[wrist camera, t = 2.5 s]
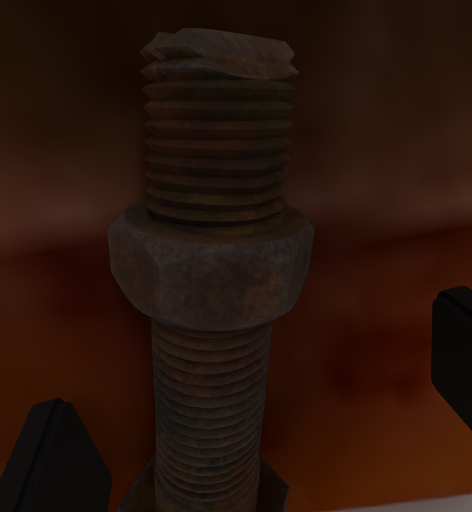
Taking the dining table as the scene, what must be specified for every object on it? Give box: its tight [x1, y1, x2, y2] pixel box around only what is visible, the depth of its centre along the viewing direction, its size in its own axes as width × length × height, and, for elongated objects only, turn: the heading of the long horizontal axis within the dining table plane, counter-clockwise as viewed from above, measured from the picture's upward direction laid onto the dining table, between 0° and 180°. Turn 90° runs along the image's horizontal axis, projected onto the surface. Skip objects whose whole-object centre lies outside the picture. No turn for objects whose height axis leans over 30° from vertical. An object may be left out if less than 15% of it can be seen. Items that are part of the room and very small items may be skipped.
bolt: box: [107, 28, 315, 512], centre depth 10 cm, size 6×5×15 cm
